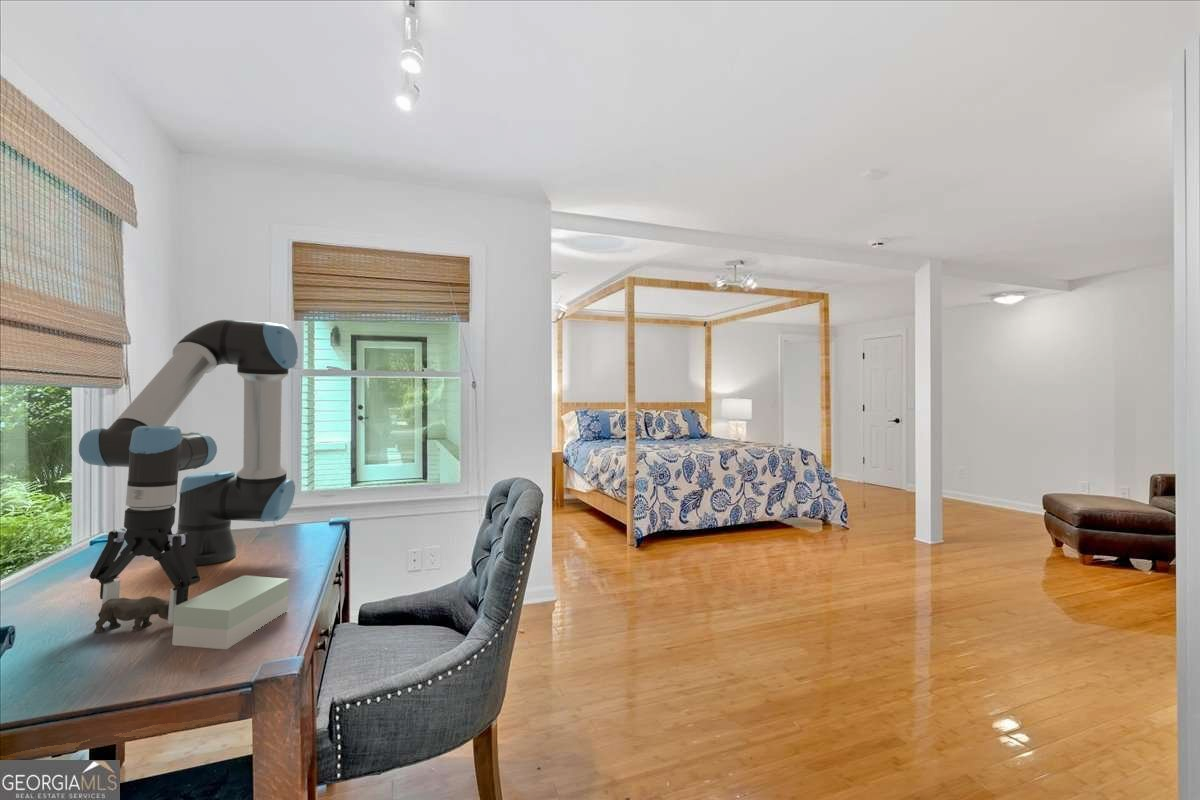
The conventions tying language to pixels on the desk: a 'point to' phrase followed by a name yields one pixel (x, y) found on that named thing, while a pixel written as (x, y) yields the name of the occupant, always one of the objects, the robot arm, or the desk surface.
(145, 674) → the desk surface
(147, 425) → the robot arm
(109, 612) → the rhino figurine
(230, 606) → the block
